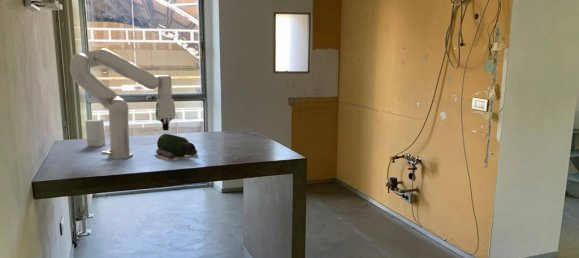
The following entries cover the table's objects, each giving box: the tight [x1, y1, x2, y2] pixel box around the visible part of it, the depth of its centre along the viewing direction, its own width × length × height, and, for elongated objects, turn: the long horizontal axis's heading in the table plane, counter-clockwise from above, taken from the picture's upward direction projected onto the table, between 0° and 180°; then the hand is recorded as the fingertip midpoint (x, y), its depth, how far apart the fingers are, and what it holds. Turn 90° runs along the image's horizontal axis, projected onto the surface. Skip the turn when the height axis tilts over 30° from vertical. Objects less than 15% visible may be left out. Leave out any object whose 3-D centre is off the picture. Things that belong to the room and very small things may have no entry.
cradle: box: [154, 148, 199, 162], centre depth 238 cm, size 18×14×4 cm
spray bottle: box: [156, 133, 196, 157], centre depth 235 cm, size 10×10×25 cm
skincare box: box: [84, 119, 106, 148], centre depth 261 cm, size 8×7×16 cm
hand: (165, 130), depth 244 cm, fingers closed
